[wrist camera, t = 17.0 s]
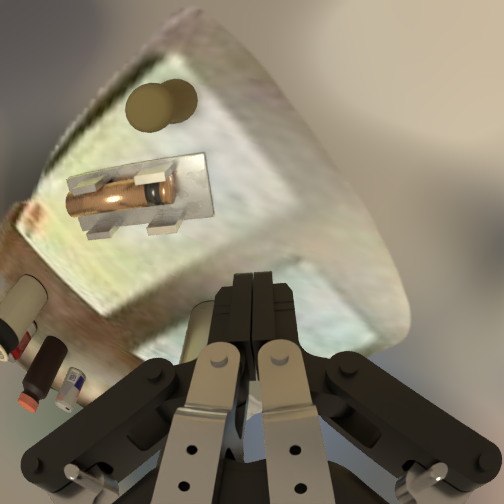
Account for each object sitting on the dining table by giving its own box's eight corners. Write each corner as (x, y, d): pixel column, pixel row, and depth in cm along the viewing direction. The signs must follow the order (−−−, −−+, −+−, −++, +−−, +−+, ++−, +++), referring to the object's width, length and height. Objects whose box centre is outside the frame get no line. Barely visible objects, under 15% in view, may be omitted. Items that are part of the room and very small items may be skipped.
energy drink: (82, 380, 70) (69, 414, 59) (67, 370, 68) (52, 403, 57) (88, 375, 67) (74, 410, 57) (72, 365, 65) (56, 399, 55)
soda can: (35, 317, 56) (13, 352, 46) (39, 333, 60) (19, 368, 49) (15, 306, 55) (-8, 340, 45) (19, 323, 58) (-1, 356, 48)
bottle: (42, 333, 59) (9, 394, 42) (61, 337, 59) (28, 402, 42) (53, 351, 63) (24, 410, 46) (71, 355, 63) (43, 418, 46)
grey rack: (213, 213, 42) (208, 233, 37) (85, 228, 44) (68, 246, 39) (204, 152, 37) (196, 164, 33) (69, 177, 39) (49, 191, 34)
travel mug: (40, 276, 49) (-5, 337, 34) (52, 305, 54) (14, 367, 38) (16, 272, 49) (-28, 328, 34) (28, 300, 53) (-10, 356, 38)
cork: (144, 108, 34) (106, 120, 25) (169, 70, 31) (137, 68, 22) (179, 132, 36) (153, 151, 27) (207, 95, 33) (187, 99, 24)
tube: (171, 168, 37) (164, 181, 34) (177, 194, 40) (171, 209, 37) (75, 185, 38) (62, 199, 35) (83, 208, 41) (72, 222, 38)
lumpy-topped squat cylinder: (271, 383, 64) (272, 414, 57) (228, 398, 69) (226, 427, 61) (244, 361, 60) (242, 396, 53) (199, 379, 64) (194, 410, 57)
